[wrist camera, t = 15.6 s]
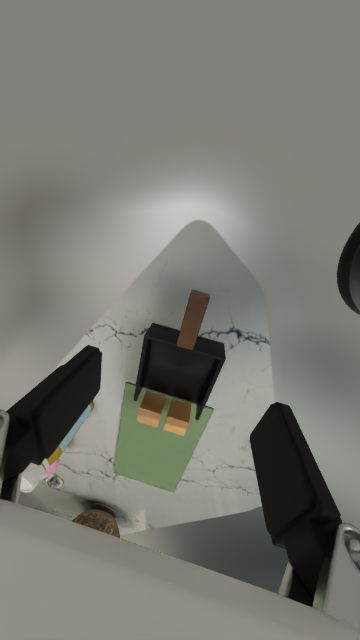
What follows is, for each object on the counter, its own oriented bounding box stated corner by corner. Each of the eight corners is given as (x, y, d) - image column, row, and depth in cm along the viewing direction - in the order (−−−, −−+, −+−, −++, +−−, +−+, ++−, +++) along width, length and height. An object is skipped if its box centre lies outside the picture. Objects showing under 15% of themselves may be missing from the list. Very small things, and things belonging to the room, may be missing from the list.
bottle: (63, 402, 42) (-8, 480, 28) (68, 383, 39) (-8, 461, 25) (90, 415, 42) (33, 498, 29) (97, 397, 39) (37, 481, 26)
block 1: (139, 407, 32) (136, 421, 33) (160, 414, 31) (156, 428, 33) (146, 390, 35) (143, 403, 37) (166, 396, 35) (162, 409, 37)
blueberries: (45, 481, 62) (40, 488, 60) (44, 470, 58) (39, 477, 57) (63, 487, 62) (59, 495, 60) (63, 477, 58) (59, 484, 57)
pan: (161, 274, 26) (152, 281, 22) (243, 297, 25) (249, 308, 21) (141, 384, 35) (132, 402, 31) (199, 401, 35) (198, 422, 31)
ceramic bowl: (143, 511, 66) (133, 577, 51) (115, 536, 69) (98, 606, 54) (88, 478, 62) (60, 539, 47) (60, 506, 65) (26, 572, 50)
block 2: (167, 416, 31) (163, 429, 33) (189, 423, 31) (183, 436, 33) (171, 398, 35) (167, 411, 37) (191, 404, 35) (186, 416, 36)
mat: (126, 381, 36) (125, 383, 35) (213, 408, 35) (213, 410, 34) (114, 471, 51) (113, 472, 51) (174, 491, 51) (173, 492, 50)
